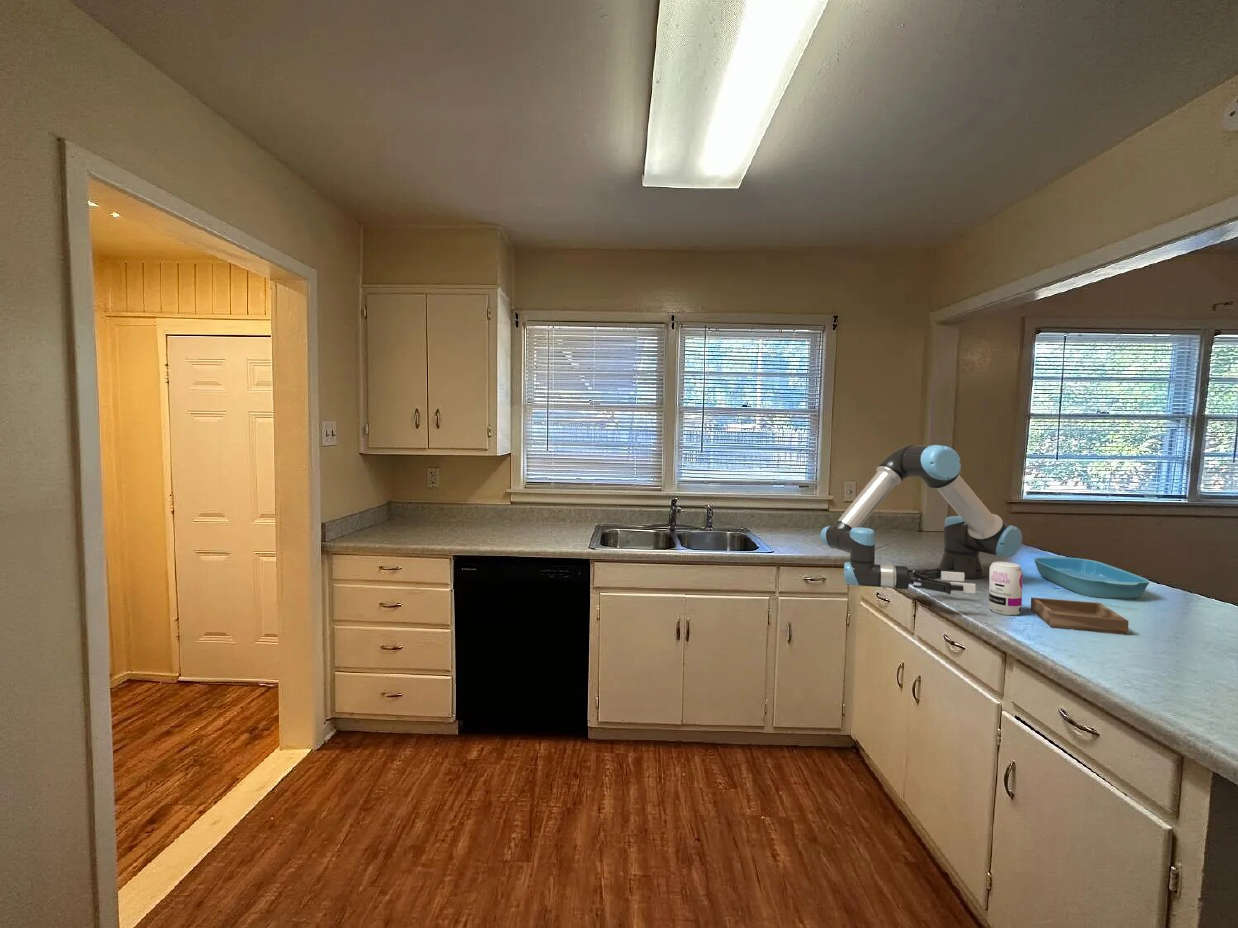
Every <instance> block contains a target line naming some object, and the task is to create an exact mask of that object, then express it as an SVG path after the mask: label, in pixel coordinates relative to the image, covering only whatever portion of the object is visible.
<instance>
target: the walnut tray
mask: <svg viewBox="0 0 1238 928" xmlns="http://www.w3.org/2000/svg"><path fill="white" fill-rule="evenodd" d="M1030 611H1031V612H1033V613H1034V614H1035V615H1036V616H1037V617H1038V618H1039V619H1041V621H1043V622H1044V623H1045V624H1046V625H1047V626H1049V627H1050V628H1051V629H1062V630H1070V629H1073V631H1082V632H1091V633H1092V632H1093V633H1101V634H1102V633H1103V634H1114V635H1124V636H1128V635H1129V620H1128V619H1126V618H1125V617H1123V616H1122V615H1120V614H1119V613H1117V612H1115V611H1114V610H1112V609H1110V608H1109V607H1107V606H1106V605H1104V604H1102V603H1101V602H1093V601H1092V602H1091V601H1082V600H1081V601H1080V600H1079V601H1078V600H1069V599H1068V600H1067V599H1054V598H1041V597H1030Z"/></svg>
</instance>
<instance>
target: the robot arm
mask: <svg viewBox="0 0 1238 928" xmlns="http://www.w3.org/2000/svg"><path fill="white" fill-rule="evenodd" d="M961 468H962V464H961V458H960V456H959V454H958V452H957V451H956V450H954V449H953V448H952V447H950V446H946V445H941V444H940V445H939V444H933V445H932V444H931V445H929V444H919V445H918V444H908V445H903V446H901V447H899V448H897V449H895V450H893V452H891V453H890V454H888V456H887V457H886V458H885V459H884V460H882V461H881V463H880V464H879V465H878V466H877V468H876V469H875V471H876V473H875V474H874V476H872V478H871V479H870V480H869V481H868V483H866V485H865V486H864V488H863V489H862V490H861V491H860V492H859V494H858V495H857V496H856V497H855V499H854V500H853V501H852V502H851V503H850V505H849V506H848V507H847V509H846V510H845V511H844V512H843V513H842V515H841V516H840V517H839V518H838V520H837V521H836V522H835V523H834V524H833V525H828V526H825V527H823V528H822V530H821V531H820V535H819V537H820V541H821V543H822V544H824V545H825V546H827V547H829V548H831V549H836V550H838V551H842V552H845V553H848V554H849V559H850V560H849V561H848V562H847V561H846V562H844V564H843V581H844V583H845V584H846V585H851V586H861V587H873V588H874V587H875V588H882V589H883V590H886V589H887V588H888V589H893V588H895V589H897V590H908V589H909V585H913V588H914V589H915V588H918V589H924V590H930V591H934V592H940V593H945V594H947V595H951V593H952V592H953V593H954V592H955V593H956V592H957V593H968V594H976V583H968V582H965V579H969V580H970V579H971V580H972V579H974V580H975V579H983V578H984V577H985V569H984V567H983V564H982V560H981V557H980V553H984V554H987V555H992V556H997V557H998V558H999V557H1000V558H1011V557H1013V556H1015V555H1016V554H1017V553H1018V552H1019V550H1020V548H1021V546H1022V543H1023V541H1022V540H1023V535H1022V531H1021V529H1020V528H1018V527H1017V526H1014V525H1011V524H1010V525H1008V524H1007V523H1005V521H1004V520H1003V519H1002V518H1001V517H1000V516H999V514H998V515H997V514H996V513H992V512H991V511H990V510H989V509H988V507H987V506H986V505H985V504H984V503H983V502H982V500H981V499H980V498H979V497H978V496H977V495H976V493H975V492H974V491H973V490H972V488H971V487H970V486H969V485H968V483H966V481H965V479H964V478H962V476H961ZM907 478H918V479H921V480H922V481H923V482H924V483H925V485H926V486H927V487H928V488H930V489H934V490H937V491H938V492H939V494H940V495H941V496H942V497H943V498H944V500H945V501H946V502H947V503H948V505H949V506H950V507H951V508H952V509H953V510H954V511H955V513H956V514H957V515H951V516H950V515H949V516H948V517H947V516H946V518H945V520H944V525H943V538H944V539H943V540H944V541H943V542H944V543H943V553H942V556H941V559H940V561H939V563H938V564H939V565H938V568H937V567H936V568H931V569H930V568H929V569H928V568H927V569H909V568H908V566H907V565H895V566H894V565H893V564H880V563H879V564H876V563H875V561H876V560H875V553H876V551H875V550H876V537H875V531H874V530H873V529H872V528H868V527H862V526H863V525H864V524H865V522H866V521H867V520H868V519H869V518H870V516H871V515H872V514H873V513H874V511H876V510H877V508H878V507H879V505H881V503H882V502H883V500H884V499H885V498H886V497H887V495H888V494H890V492H891V491H892V490H893V488H894V487H895V486H896V485H897V486H898V485H900V484H901V483H902V482H903V481H904V480H905V479H907ZM940 579H941V580H940ZM947 581H950V582H947ZM952 581H953V582H952Z"/></svg>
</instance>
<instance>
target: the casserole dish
mask: <svg viewBox="0 0 1238 928" xmlns="http://www.w3.org/2000/svg"><path fill="white" fill-rule="evenodd" d="M1033 560H1034V563H1035V567H1036V569H1037V571H1038V574H1040V575H1041V576H1042V577H1043V578H1044V579H1045V580H1048V581H1050V582H1052V583H1054V584H1056V585H1059V586H1060V587H1062V586H1063V587H1062V588H1064V589H1067V590H1068V591H1071V592H1073V591H1074V593H1076V594H1078V595H1082V596H1086V597H1089V598H1090V597H1091V598H1100V599H1101V598H1102V599H1120V600H1121V599H1127V600H1128V599H1130V600H1132V599H1133V598H1134V599H1137V598H1139V597H1140V596H1142V595H1143V593H1144V592H1145V591H1146V588H1147V587H1148V585H1149V584H1150V580H1149V579H1147V578H1145V577H1143V576H1140V575H1138V574H1135V573H1133V572H1129V571H1127V570H1123V569H1121V568H1118V567H1115V566H1112V565H1110V564H1106V563H1104V562H1101V561H1097V560H1092V559H1087V558H1079V557H1077V558H1076V557H1070V556H1069V557H1068V556H1057V555H1056V556H1055V555H1052V556H1051V555H1050V556H1049V555H1048V556H1047V555H1045V556H1039V557H1038V556H1037V557H1034V558H1033ZM1134 599H1133V600H1134Z"/></svg>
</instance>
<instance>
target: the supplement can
mask: <svg viewBox="0 0 1238 928" xmlns="http://www.w3.org/2000/svg"><path fill="white" fill-rule="evenodd" d="M1023 572H1024V571H1023V570H1022V567H1021V565H1020V564H1018V563H1014V562H1008V561H993V562H992V563H991V565H990V566H989V573H988V574H989V578H988V579H989V580H988V581H989V583H988V586H989V587H988V609H990V611H991V610H992V612H993V613H996V614H998V615H1003V616H1010V615H1015V616H1018V615H1020V614H1021V613H1022V612H1023V611H1022V606H1023V603H1022V601H1023V575H1024V574H1023Z"/></svg>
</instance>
